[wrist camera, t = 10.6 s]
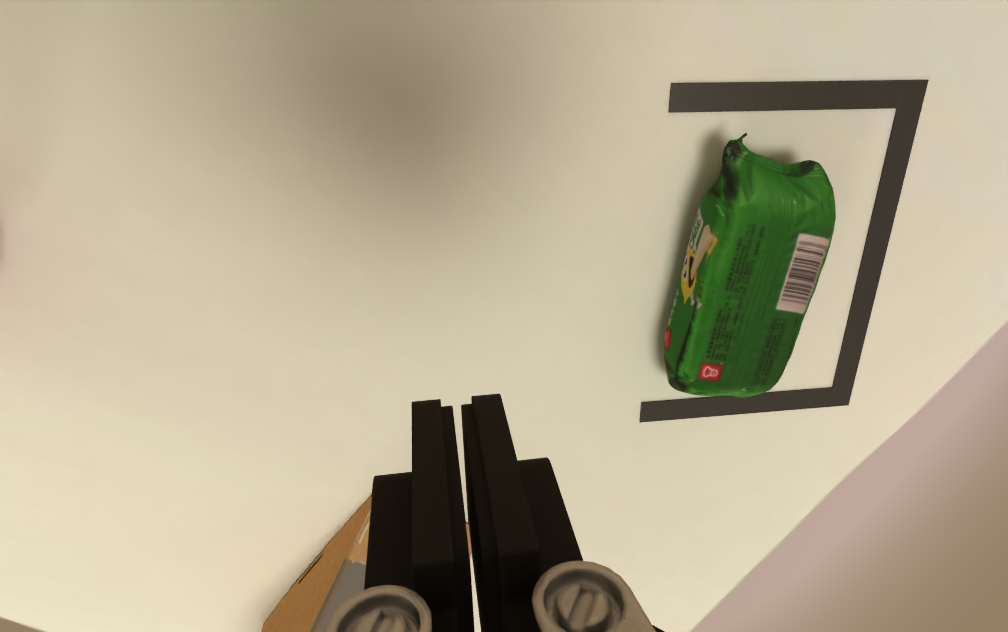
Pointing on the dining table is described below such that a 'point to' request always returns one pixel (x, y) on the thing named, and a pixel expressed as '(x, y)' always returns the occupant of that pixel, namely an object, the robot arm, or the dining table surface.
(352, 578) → the sandwich container
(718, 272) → the snack package
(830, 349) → the dining table surface
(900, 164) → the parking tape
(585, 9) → the dining table surface
